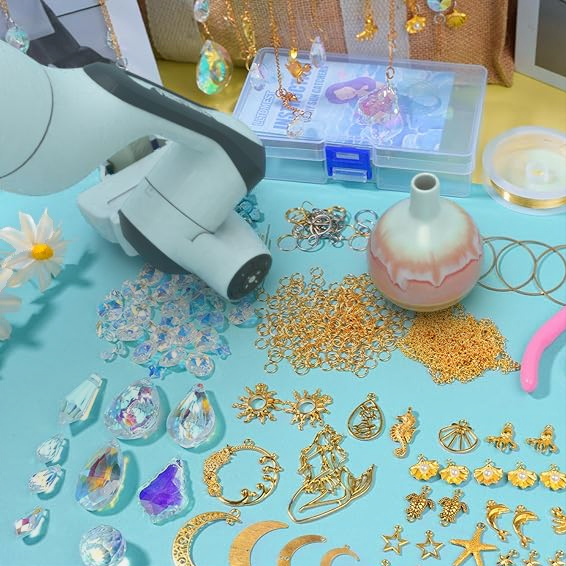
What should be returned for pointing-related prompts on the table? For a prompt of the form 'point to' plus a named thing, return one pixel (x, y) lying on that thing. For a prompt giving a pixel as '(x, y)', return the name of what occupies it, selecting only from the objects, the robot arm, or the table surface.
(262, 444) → the table surface
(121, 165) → the box
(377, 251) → the vase
